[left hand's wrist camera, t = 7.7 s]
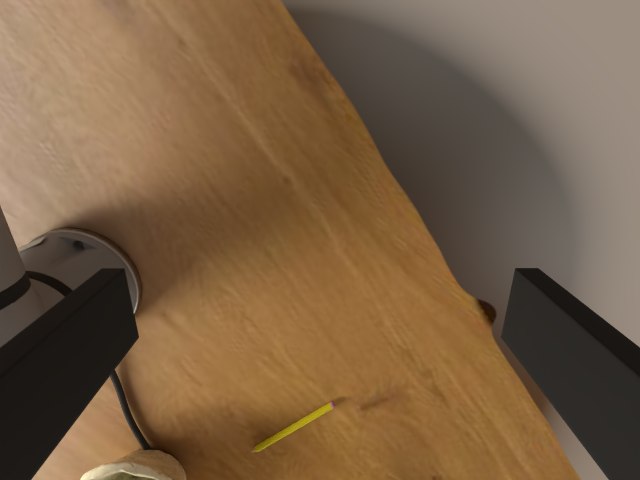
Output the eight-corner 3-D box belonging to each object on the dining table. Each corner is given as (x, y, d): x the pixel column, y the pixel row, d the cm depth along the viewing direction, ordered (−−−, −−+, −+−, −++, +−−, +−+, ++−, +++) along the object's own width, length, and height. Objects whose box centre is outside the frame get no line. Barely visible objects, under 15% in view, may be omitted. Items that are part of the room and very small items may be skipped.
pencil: (331, 399, 56) (331, 404, 55) (335, 403, 57) (335, 408, 56) (248, 448, 60) (247, 453, 59) (252, 451, 60) (251, 457, 59)
